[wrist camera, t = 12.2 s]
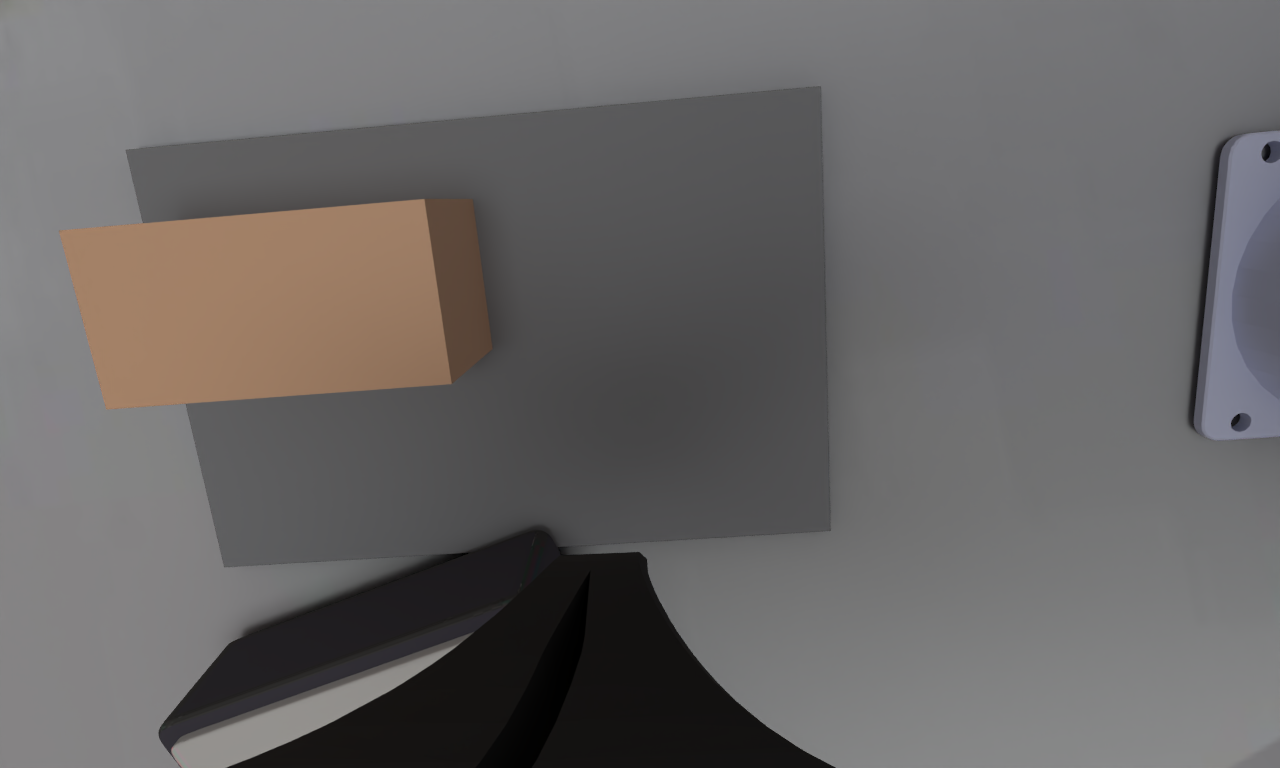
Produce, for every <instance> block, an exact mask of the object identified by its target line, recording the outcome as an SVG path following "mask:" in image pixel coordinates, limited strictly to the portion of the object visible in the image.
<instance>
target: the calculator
mask: <svg viewBox="0 0 1280 768" xmlns="http://www.w3.org/2000/svg"><path fill="white" fill-rule="evenodd" d="M560 555H561V554H560V552H559V550H558V548H557V546H556V544H555V543H554V541H553V539H552V538H551V536H550V535H549V534H548V533H546V532H544V531H542V530H533V531H529V532H526V533H523V534H521V535H518V536H515V537H513V538H510V539H507V540H504V541H502V542H499V543H496V544H494V545H491V546H488V547H486V548H483V549H480V550H477V551H475V552H472V553H469V554H467V555H464V556H461V557H459V558H456V559H453V560H450V561H448V562H445V563H442V564H440V565H437V566H434V567H432V568H429V569H426V570H424V571H421V572H418V573H415V574H413V575H410V576H407V577H405V578H402V579H399V580H397V581H394V582H391V583H388V584H386V585H383V586H380V587H378V588H375V589H372V590H370V591H367V592H364V593H361V594H359V595H356V596H353V597H351V598H348V599H345V600H343V601H340V602H337V603H334V604H332V605H329V606H326V607H324V608H321V609H318V610H316V611H313V612H310V613H307V614H305V615H302V616H299V617H297V618H294V619H291V620H289V621H286V622H283V623H280V624H278V625H275V626H272V627H270V628H267V629H264V630H262V631H259V632H256V633H253V634H251V635H248V636H245V637H243V638H240V639H238V640H235V641H233V642H231V643H230V644H229V645H228V646H227V647H226V648H225V649H224V650H223V651H222V653H221V654H220V655H219V656H218V657H217V659H216V660H215V661H214V662H213V663H212V665H211V666H210V667H209V668H208V669H207V671H206V672H205V673H204V674H203V675H202V677H201V678H200V679H199V680H198V681H197V683H196V684H195V685H194V686H193V687H192V689H191V690H190V691H189V692H188V693H187V695H186V696H185V697H184V698H183V700H182V701H181V702H180V703H179V704H178V706H177V707H176V708H175V709H174V710H173V712H172V713H171V714H170V715H169V717H168V718H167V719H166V720H165V721H164V723H163V724H162V726H161V727H160V729H159V738H160V740H161V742H162V743H163V745H164V746H165V748H166V749H167V750H168V752H169V753H170V754H171V755H172V757H173V758H174V759H175V761H176V762H177V763H178V765H179V766H180V767H181V768H226V767H229V766H231V765H234V764H237V763H239V762H242V761H244V760H247V759H250V758H252V757H255V756H257V755H259V754H262V753H264V752H266V751H269V750H271V749H274V748H276V747H278V746H281V745H283V744H286V743H288V742H290V741H292V740H295V739H297V738H299V737H301V736H303V735H306V734H308V733H310V732H312V731H314V730H316V729H319V728H321V727H323V726H325V725H327V724H329V723H331V722H333V721H335V720H337V719H339V718H341V717H342V716H344V715H346V714H348V713H350V712H352V711H354V710H355V709H357V708H359V707H361V706H363V705H365V704H366V703H368V702H370V701H372V700H374V699H376V698H378V697H379V696H381V695H383V694H385V693H387V692H389V691H391V690H392V689H394V688H395V687H397V686H399V685H400V684H402V683H404V682H405V681H407V680H408V679H410V678H411V677H413V676H415V675H416V674H418V673H419V672H421V671H422V670H424V669H425V668H427V667H428V666H430V665H431V664H433V663H434V662H436V661H437V660H439V659H440V658H441V657H443V656H444V655H446V654H447V653H448V652H450V651H451V650H452V649H454V648H455V647H456V646H458V645H459V644H460V643H461V642H463V641H464V640H465V639H466V638H468V637H469V636H470V635H471V634H472V633H474V632H475V631H476V630H477V629H479V628H480V627H481V626H482V625H484V624H485V623H486V622H487V621H488V620H490V619H491V618H492V617H493V616H495V615H496V614H497V613H498V612H499V611H500V610H502V609H503V608H504V607H505V606H506V605H507V604H508V603H509V602H510V601H511V600H512V599H514V598H515V597H516V596H517V595H518V594H519V593H520V592H521V591H522V590H523V589H524V588H526V587H527V586H528V585H529V584H530V583H531V582H532V581H533V580H534V579H535V578H536V577H537V576H538V575H539V574H540V573H541V572H542V571H543V570H544V569H545V568H546V567H547V566H549V565H550V564H551V563H552V562H553V561H554V560H555V559H556V558H558V557H559V556H560Z"/></svg>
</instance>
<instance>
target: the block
mask: <svg viewBox="0 0 1280 768" xmlns="http://www.w3.org/2000/svg"><path fill="white" fill-rule="evenodd" d="M59 232H60V236H61V240H62V244H63V248H64V251H65V255H66V259H67V263H68V266H69V270H70V274H71V278H72V282H73V285H74V289H75V293H76V297H77V300H78V304H79V308H80V312H81V316H82V319H83V323H84V327H85V331H86V335H87V338H88V342H89V346H90V350H91V353H92V357H93V361H94V365H95V369H96V372H97V376H98V380H99V384H100V387H101V391H102V395H103V399H104V403H105V406H106V409H119V408H133V407H146V406H160V405H174V404H187V403H201V402H214V401H228V400H242V399H255V398H269V397H283V396H296V395H310V394H324V393H337V392H351V391H365V390H378V389H392V388H406V387H419V386H433V385H446V384H452V383H454V382H455V381H456V380H457V379H458V378H459V377H461V376H462V375H463V374H464V373H465V372H466V371H467V370H469V369H470V368H471V367H472V366H473V365H474V364H476V363H477V362H478V361H479V360H480V359H481V358H483V357H484V356H485V355H486V354H487V353H488V352H490V351H491V350H492V349H493V348H492V341H491V333H490V326H489V318H488V311H487V303H486V296H485V288H484V280H483V273H482V265H481V258H480V250H479V243H478V235H477V228H476V220H475V213H474V205H473V199H418V200H406V201H395V202H383V203H372V204H360V205H349V206H337V207H326V208H314V209H303V210H291V211H280V212H268V213H257V214H245V215H234V216H222V217H211V218H199V219H188V220H176V221H165V222H153V223H142V224H130V225H119V226H107V227H96V228H84V229H73V230H61V231H59Z"/></svg>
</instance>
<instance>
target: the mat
mask: <svg viewBox="0 0 1280 768" xmlns="http://www.w3.org/2000/svg"><path fill="white" fill-rule="evenodd" d="M126 154H127V158H128V162H129V166H130V171H131V175H132V179H133V183H134V188H135V192H136V196H137V200H138V204H139V209H140V213H141V217H142V221H143V223H153V222H165V221H176V220H188V219H199V218H211V217H222V216H234V215H245V214H257V213H268V212H280V211H291V210H303V209H314V208H326V207H337V206H349V205H360V204H372V203H383V202H395V201H406V200H418V199H473V205H474V213H475V220H476V228H477V235H478V243H479V250H480V258H481V265H482V273H483V280H484V288H485V296H486V303H487V311H488V318H489V326H490V333H491V341H492V348H493V349H492V350H491V351H490V352H488V353H487V354H486V355H485V356H484V357H483V358H481V359H480V360H479V361H478V362H477V363H476V364H474V365H473V366H472V367H471V368H470V369H469V370H467V371H466V372H465V373H464V374H463V375H462V376H461V377H459V378H458V379H457V380H456V381H455V382H454V383H452V384H446V385H433V386H419V387H406V388H392V389H378V390H365V391H351V392H337V393H324V394H310V395H296V396H283V397H269V398H255V399H242V400H228V401H214V402H201V403H187V404H186V407H187V412H188V416H189V420H190V424H191V428H192V433H193V437H194V441H195V445H196V450H197V454H198V458H199V462H200V467H201V471H202V475H203V479H204V483H205V488H206V492H207V496H208V500H209V505H210V509H211V513H212V517H213V522H214V526H215V530H216V534H217V538H218V543H219V547H220V551H221V555H222V560H223V564H224V567H238V566H254V565H271V564H288V563H304V562H321V561H337V560H354V559H371V558H387V557H404V556H421V555H437V554H454V553H471V552H475V551H477V550H480V549H483V548H486V547H488V546H491V545H494V544H496V543H499V542H502V541H504V540H507V539H510V538H513V537H515V536H518V535H521V534H523V533H526V532H529V531H533V530H542V531H544V532H546V533H548V534H549V535H550V536H551V538H552V539H553V541H554V543H555V544H556V546H557V547H570V546H587V545H604V544H620V543H637V542H654V541H670V540H687V539H703V538H720V537H737V536H753V535H770V534H787V533H803V532H820V531H831V529H830V484H829V440H828V395H827V351H826V306H825V262H824V217H823V173H822V128H821V86H817V87H806V88H796V89H785V90H774V91H763V92H752V93H741V94H730V95H719V96H708V97H697V98H686V99H675V100H664V101H654V102H643V103H632V104H621V105H610V106H599V107H588V108H577V109H566V110H555V111H544V112H533V113H522V114H512V115H501V116H490V117H479V118H468V119H457V120H446V121H435V122H424V123H413V124H402V125H391V126H381V127H370V128H359V129H348V130H337V131H326V132H315V133H304V134H293V135H282V136H271V137H260V138H249V139H239V140H228V141H217V142H206V143H195V144H184V145H173V146H162V147H151V148H140V149H129V150H126Z"/></svg>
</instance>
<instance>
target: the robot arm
mask: <svg viewBox="0 0 1280 768" xmlns="http://www.w3.org/2000/svg"><path fill="white" fill-rule="evenodd" d="M1266 144H1268V145H1269V146H1270V149H1271V153H1270V156H1269V158H1268V159H1267V160H1266V161H1264V160H1263V159H1262V155H1261V152H1262V149H1263V147H1264V146H1265V145H1266ZM1237 414H1240V420H1239V422H1238V423H1237V424H1236V425H1235V426H1232V427H1231V421H1232V419H1233V417H1235V416H1236V415H1237ZM1194 428H1195V429H1196V431H1197V432H1198V433H1199V434H1200V435H1202V436H1204V437H1206V438H1208V439H1211V440H1217V441H1221V440H1237V439H1252V438H1267V437H1280V130H1279V131H1267V132H1255V133H1246V134H1241V135H1237V136H1234V137H1233V138H1232V139H1230V140H1229V141H1228V142H1227V143H1226V144H1225V146H1224V147H1223V149H1222V152H1221V156H1220V164H1219V174H1218V184H1217V194H1216V204H1215V214H1214V224H1213V234H1212V244H1211V254H1210V264H1209V274H1208V284H1207V294H1206V304H1205V314H1204V324H1203V334H1202V344H1201V354H1200V364H1199V374H1198V384H1197V394H1196V404H1195V414H1194ZM226 768H835V767H833V766H831V765H829V764H828V763H826V762H824V761H822V760H820V759H818V758H816V757H814V756H812V755H810V754H809V753H807V752H805V751H803V750H802V749H800V748H798V747H797V746H795V745H794V744H792V743H791V742H789V741H788V740H786V739H785V738H783V737H782V736H780V735H779V734H777V733H776V732H774V731H773V730H771V729H770V728H768V727H767V726H766V725H764V724H763V723H762V722H760V721H759V720H758V719H757V718H756V717H754V716H753V715H752V714H751V713H750V712H748V711H747V710H746V709H745V708H744V707H742V706H741V705H740V704H739V703H738V702H736V701H735V700H734V699H733V698H732V697H731V696H730V695H729V694H728V693H727V692H726V691H725V690H724V689H723V688H722V687H721V686H720V685H719V684H718V683H717V682H716V681H715V679H714V678H713V677H712V676H711V675H710V674H709V673H708V672H707V670H706V669H705V668H704V667H703V666H702V665H701V663H700V662H699V661H698V660H697V658H696V657H695V656H694V655H693V653H692V652H691V651H690V649H689V648H688V647H687V645H686V644H685V642H684V641H683V639H682V638H681V636H680V635H679V634H678V632H677V631H676V629H675V627H674V626H673V624H672V623H671V621H670V619H669V617H668V616H667V614H666V612H665V610H664V608H663V607H662V605H661V603H660V601H659V599H658V597H657V595H656V593H655V591H654V588H653V586H652V583H651V581H650V578H649V575H648V567H647V559H646V558H645V557H644V556H643V555H642V554H641V553H640V552H631V553H608V554H584V555H560V556H559V557H558V558H556V559H555V560H554V561H553V562H552V563H551V564H550V565H549V566H547V567H546V568H545V569H544V570H543V571H542V572H541V573H540V574H539V575H538V576H537V577H536V578H535V579H534V580H533V581H532V582H531V583H530V584H529V585H528V586H527V587H526V588H524V589H523V590H522V591H521V592H520V593H519V594H518V595H517V596H516V597H515V598H514V599H512V600H511V601H510V602H509V603H508V604H507V605H506V606H505V607H504V608H503V609H502V610H500V611H499V612H498V613H497V614H496V615H495V616H493V617H492V618H491V619H490V620H488V621H487V622H486V623H485V624H484V625H482V626H481V627H480V628H479V629H477V630H476V631H475V632H474V633H472V634H471V635H470V636H469V637H468V638H466V639H465V640H464V641H463V642H461V643H460V644H459V645H458V646H456V647H455V648H454V649H452V650H451V651H450V652H448V653H447V654H446V655H444V656H443V657H441V658H440V659H439V660H437V661H436V662H434V663H433V664H431V665H430V666H428V667H427V668H425V669H424V670H422V671H421V672H419V673H418V674H416V675H415V676H413V677H411V678H410V679H408V680H407V681H405V682H404V683H402V684H400V685H399V686H397V687H395V688H394V689H392V690H391V691H389V692H387V693H385V694H383V695H381V696H379V697H378V698H376V699H374V700H372V701H370V702H368V703H366V704H365V705H363V706H361V707H359V708H357V709H355V710H354V711H352V712H350V713H348V714H346V715H344V716H342V717H341V718H339V719H337V720H335V721H333V722H331V723H329V724H327V725H325V726H323V727H321V728H319V729H316V730H314V731H312V732H310V733H308V734H306V735H303V736H301V737H299V738H297V739H295V740H292V741H290V742H288V743H286V744H283V745H281V746H278V747H276V748H274V749H271V750H269V751H266V752H264V753H262V754H259V755H257V756H255V757H252V758H250V759H247V760H244V761H242V762H239V763H237V764H234V765H231V766H229V767H226Z"/></svg>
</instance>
